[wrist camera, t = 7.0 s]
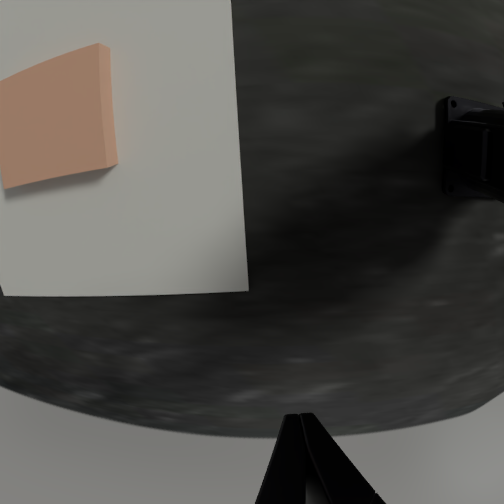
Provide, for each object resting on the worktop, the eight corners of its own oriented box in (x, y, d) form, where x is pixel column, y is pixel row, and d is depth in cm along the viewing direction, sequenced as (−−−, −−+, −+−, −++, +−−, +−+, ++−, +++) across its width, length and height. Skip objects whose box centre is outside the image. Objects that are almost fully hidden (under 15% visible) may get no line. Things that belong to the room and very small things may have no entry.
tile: (98, 42, 12) (-6, 84, 12) (107, 167, 15) (4, 189, 15) (110, 48, 14) (8, 84, 14) (118, 163, 17) (17, 183, 17)
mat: (226, -77, 11) (226, -80, 10) (248, 287, 20) (248, 290, 20) (-25, 12, 11) (-28, 11, 11) (6, 293, 20) (4, 295, 20)
